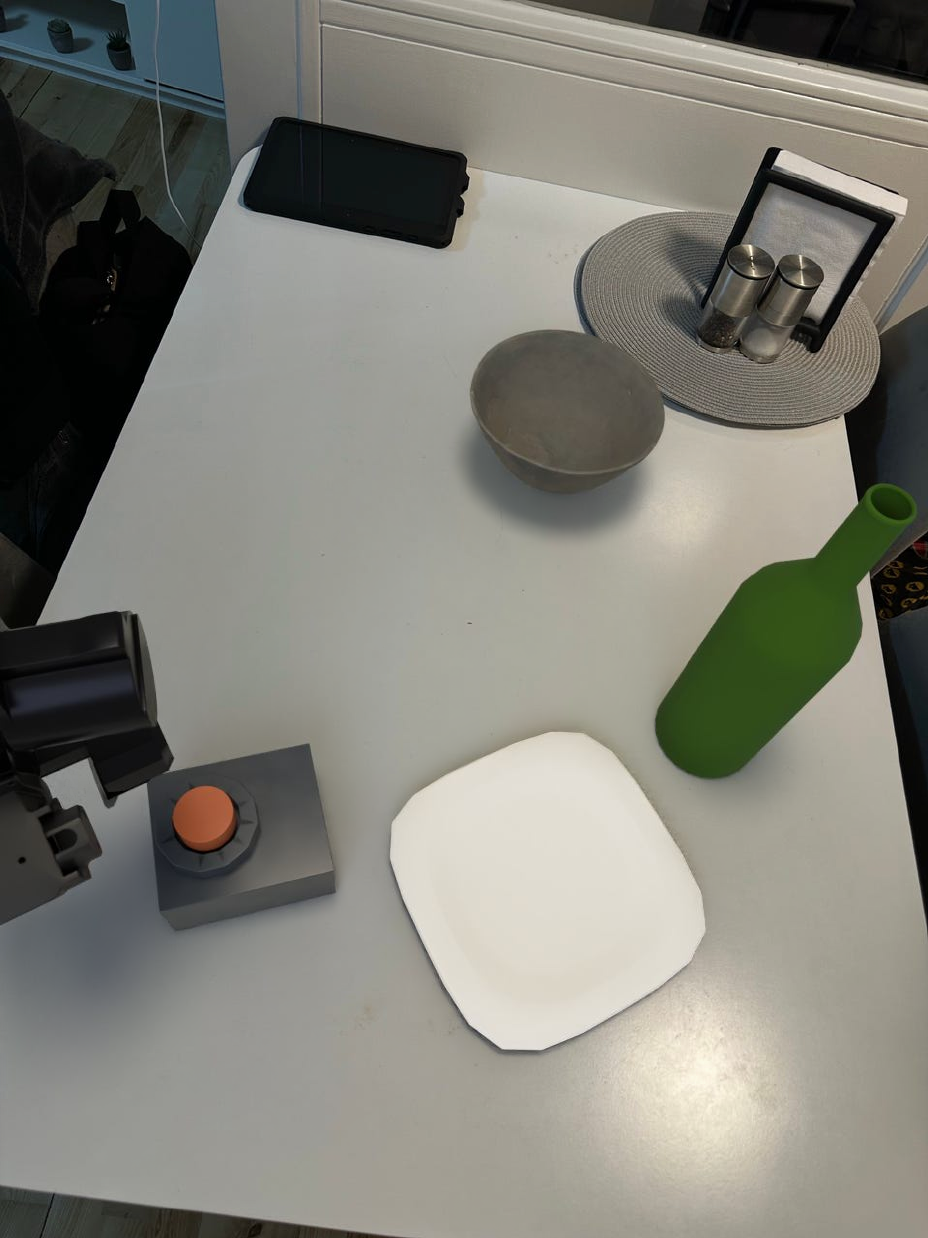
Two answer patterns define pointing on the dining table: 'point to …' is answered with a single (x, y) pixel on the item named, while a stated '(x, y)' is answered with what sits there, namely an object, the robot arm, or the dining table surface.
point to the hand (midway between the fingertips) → (36, 834)
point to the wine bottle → (777, 644)
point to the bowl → (566, 409)
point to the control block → (243, 840)
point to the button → (204, 818)
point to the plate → (545, 889)
